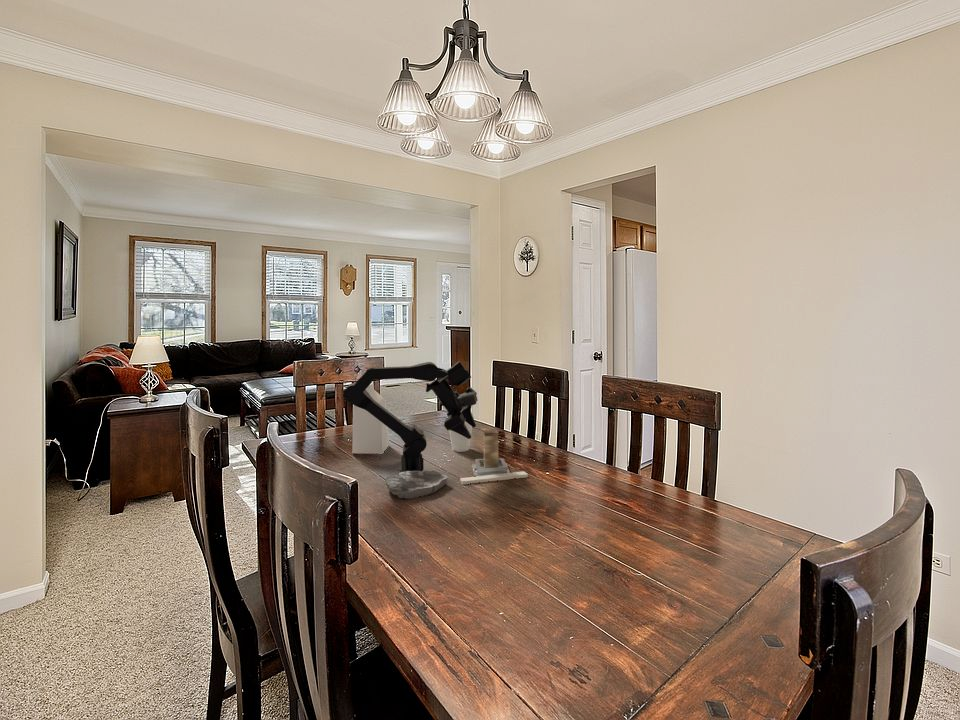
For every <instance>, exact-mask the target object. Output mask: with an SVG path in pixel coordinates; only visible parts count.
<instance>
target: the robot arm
mask: <svg viewBox="0 0 960 720" xmlns="http://www.w3.org/2000/svg"><path fill="white" fill-rule="evenodd" d="M471 378H472V376H471V375H470V373H469V372H468V369H466V368H465V367H464V366H463V364H462V363H461V361H457V362H456V363H455V364H454V365H453V366H451V367H449V368H448V369H447V370H446V369H445V368H441V367H438V366H437V365H436V364H435V363H434V362H432V361H425V362H422V363H418V364H415V365H414V364H413V365H409V366H406V365H405V366H383V367H382V366H381V367H379V366H377V367H376V366H371V367H369V368H367V370H366V371H365V373H363V374H362V376H360V378H358V379H357V381H356V382H351V383H350V384H348V385H347V387H346V388H345V389H344V391H343V398H344V399H345V401H346V402H347V403H349V404H351V405H353V406H354V405H355V406H357V407H359V408H362V409H364V410H366V411H368V412H369V413H370V414H372V415H373V416H374V417H375V418H377V419H378V420H379V421H381V422H382V423H383V424H385V425H386V426H387V427H388V429H390V430H391V431H393V432H394V433H395V434H396V435H398V437H400V439H401V440H402V441H403V443H404V444H403V445H402V454H401V455H400V456H401V458H400V460H401V462H400V463H401V469H399V471H400V472H406V471H425V468H424V467H425V466H424V457H423V454H422V452H424V451H425V450H426V448H427V445H428V444H427V436H426V434H425V433H424V430H422V429H420V428H419V427H418V426H417V425H416V424H415V423H414V424H413V425H412V426H409V425H408V424H406V423H404V422H403V421H402V420H400V419H399V418H398V417H396V416H395V415H394V414H393V413H392V412H390V411H389V410H388V409H387V410H386V409H385V408H384V407H382V406H381V405H380V404H378V403H377V402H376V401H374V400H373V399H372V397H371V396H370V395H369V393H368V392H367V391H366V388H367V387H368V386H369V385H370V384H371V383H373V382H374V381H375V380H397V379H398V380H400V379H404V380H405V379H414V380H418V381H422V382H423V381H424V382H428V383H426V384H425V385H426V387H425V392H426V393H429V392H430V391H432V392H433V393H434V395H435V396H436V398H437V399H438V400H439V402H440V403H439V406H440V407H441V408H442V407H443V408H444V409H445V410H446V412H447V413H446V416H447V417H446V419H445V421H444V424H443V426H444V428H445V429H446V430H447V431H449V430H450V431H451V430H452V431H454V432H456V433H458V434H460V435H462V436H464V437H466V438H468V439H470V438H471V439H472V434H471V435H470V433H469V431H468V429H467V427H466V425H465V421H466V422H467V423H468V424H469V425H471V426H472V428H476V427H477V424H476V422H475V418H474V416H473V413H472V407H473V406H474V405H476V404H477V402H478V397H477V392H476V390H474V389H473V388H472V387H467V388H466V390H465V392H463V393H461V394H460V393H459V391H457V390H455V391H454V389H453V388H452V387H458V388H459V387H460V386H461V385H463V384H465V383H466V382H467V381H468V380H470V379H471ZM438 379H439V380H438ZM447 379H448V381H449V382H448V381H447ZM429 382H431V383H429ZM450 384H451V385H452V386H451V385H450ZM450 431H449V432H450ZM400 472H399V473H400Z"/></svg>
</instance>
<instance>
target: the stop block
mask: <svg viewBox="0 0 960 720" xmlns="http://www.w3.org/2000/svg"><path fill="white" fill-rule="evenodd" d="M482 430H483V459H484V467H498V458H499V431H498V429H493V428H492V429H482Z"/></svg>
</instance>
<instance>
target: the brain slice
mask: <svg viewBox="0 0 960 720" xmlns="http://www.w3.org/2000/svg"><path fill="white" fill-rule="evenodd" d="M448 478H449V477H448V475H447V474H444V473H441V472H438V471H435V470H431V471H429V470H423V471H406V472H398V473H397V474H393V475H389V476H386V479H384V482H385V483H386V487H387V489H388V491H390V492H391V494H392V495H393V494H394V495H393V496H395V495H397V496H396V497H398V498H399V499H401V498H405V499H404V500H411V499H410V498H412V499H415V498H414V497H416V498H420V497H419V496H421V497H425V496H424V495H426V496H427V495H430V494H435V493H436V492H437V491H438V489H439V490H440V489H442V487H444V486H445V484H447V481H448Z"/></svg>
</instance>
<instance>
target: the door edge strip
mask: <svg viewBox="0 0 960 720" xmlns="http://www.w3.org/2000/svg"><path fill="white" fill-rule="evenodd" d="M528 475H529V474H528V473H527V472H526V471H514V472H510V473H504V474H494V475H485V476H476V477H474V476H470V477H469V476H468V477H461V478H459V482H460V484H462V485H468V484H470V483H471V484H477V483H478V484H480V483H489V482H495V481H496V482H497V480H498V481H507V480H513V479H514V478H516V479H522V478H523V479H525V478H528ZM488 481H489V482H488ZM479 482H480V483H479ZM471 484H470V485H471Z"/></svg>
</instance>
